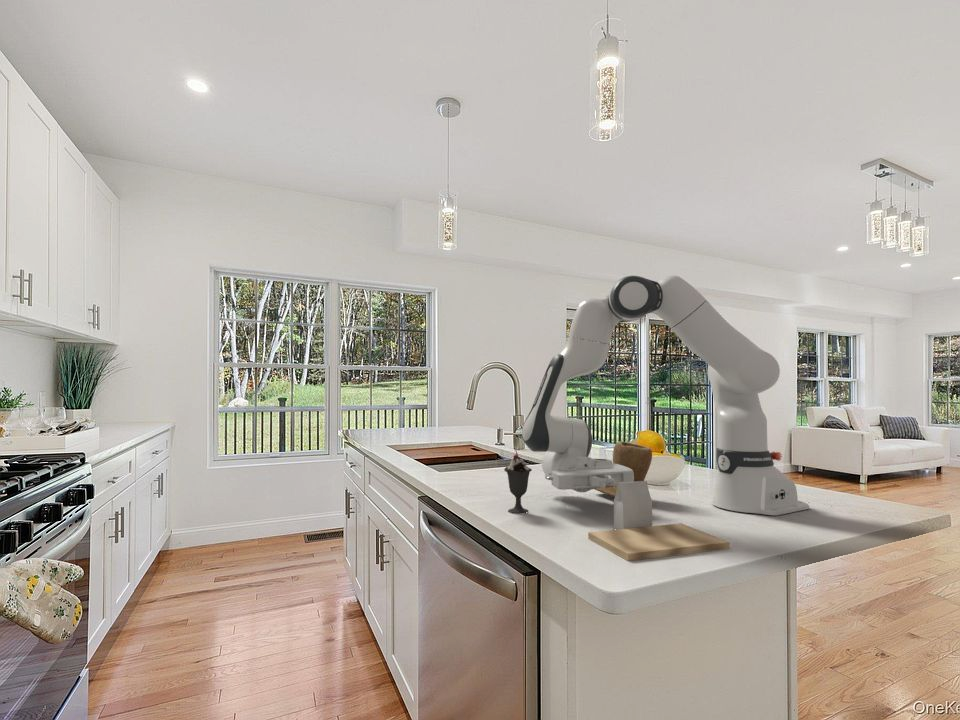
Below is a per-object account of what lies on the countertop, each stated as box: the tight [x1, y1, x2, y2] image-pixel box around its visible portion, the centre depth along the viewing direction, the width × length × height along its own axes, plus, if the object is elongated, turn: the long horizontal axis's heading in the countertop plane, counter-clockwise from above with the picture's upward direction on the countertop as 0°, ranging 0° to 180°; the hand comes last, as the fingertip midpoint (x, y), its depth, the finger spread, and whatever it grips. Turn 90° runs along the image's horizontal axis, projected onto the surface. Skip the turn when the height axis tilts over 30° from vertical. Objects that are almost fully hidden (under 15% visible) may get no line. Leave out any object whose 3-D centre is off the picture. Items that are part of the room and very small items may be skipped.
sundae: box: [504, 447, 533, 514], centre depth 124 cm, size 7×7×15 cm
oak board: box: [587, 522, 731, 562], centre depth 99 cm, size 22×14×1 cm, turn 108°
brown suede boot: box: [594, 440, 653, 498], centre depth 139 cm, size 15×12×15 cm
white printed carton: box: [613, 480, 653, 530], centre depth 109 cm, size 4×7×10 cm, turn 105°
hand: (609, 483), depth 117 cm, fingers closed
